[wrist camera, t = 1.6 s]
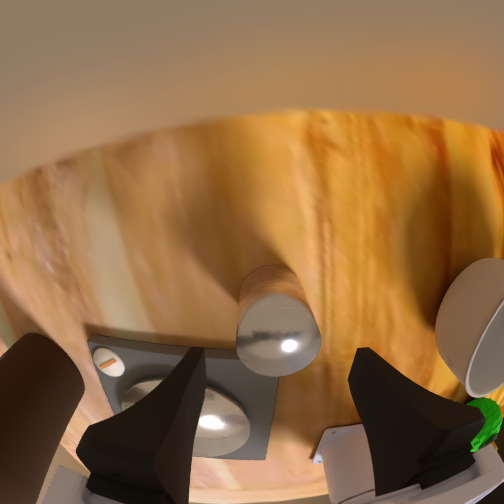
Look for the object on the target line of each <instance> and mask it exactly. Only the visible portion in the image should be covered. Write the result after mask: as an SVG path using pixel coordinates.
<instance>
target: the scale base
mask: <svg viewBox="0 0 504 504" xmlns="http://www.w3.org/2000/svg"><path fill="white" fill-rule="evenodd" d="M87 342H88V346H89V349H90V352H91V355H92V358H93V361H94V364H95V367H96V370H97V372H98V375H99V378H100V380H101V383H102V386H103V388H104V391H105V393H106V396H107V398H108V401H109V403H110V405H111V408H112V410H113V412H114V414H115V415H116V414H118V413H120V412H122V401H123V398H124V396H125V393H126V392H127V390H128V389H129V388H130V387H131V386H132V385H133V384H135V383H137V382H139V381H141V380H144V379H148V378H154V377H166V376H167V375H168V374H169V373H170V372H171V371H172V370H173V369H174V368H175V366H176V365H177V364H178V363H179V362H180V360H181V359H182V358H183V356H184V355H185V354H186V352H187V351H188V350H189V348H191V347H183V346H173V345H163V344H155V343H147V342H139V341H132V340H125V339H119V338H113V337H107V336H101V335H95V334H93V335H92V336H91V337H90V339H89V340H88V341H87ZM205 362H206V376H207V382H206V385H208V386H211V387H213V388H216V389H218V390H220V391H222V392H224V393H225V394H227V395H229V396H230V397H232V398H233V399H234V400H235V401H237V402H238V403H239V404H240V405H241V406H242V407H243V409H244V410H245V411H246V413H247V415H248V417H249V420H250V435H249V438H248V440H247V441H246V442H245V444H244V445H243V446H241V447H240V448H239V449H237V450H235V451H233V452H231V453H228V454H225V455H220V456H214V457H206V458H217V459H233V460H265V459H266V453H267V447H268V442H269V436H270V430H271V424H272V418H273V411H274V405H275V398H276V392H277V385H278V378H279V376H276V377H275V376H265V375H261V374H258V373H256V372H254V371H252V370H250V369H249V368H247V367H246V366H245V365H244V364H243V363H242V362H241V360H240V358H239V357H238V354H237V351H236V350H223V349H207V348H205Z"/></svg>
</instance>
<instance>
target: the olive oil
mask: <svg viewBox="0 0 504 504" xmlns="http://www.w3.org/2000/svg"><path fill="white" fill-rule="evenodd" d="M84 391H85V386H84V382H83V379H82V376H81V374H80V372H79V371H78V369H77V367H76V366H75V364H74V363H73V362H72V360H71V359H70V358H69V357H68V356H67V355H66V354H65V353H64V352H63V351H62V350H61V349H60V348H59V347H58V346H57V345H55V344H54V343H53V342H51V341H50V340H48V339H47V338H45V337H43V336H41V335H38V334H33V333H29V334H26V335H24V336H23V337H21V338H20V339H19V340H18V341H17V342H16V343H15V344H14V345H13V346H12V347H11V348H10V349H8V350H7V351H6V352H5V353H4V354H3V355H2V356H1V357H0V504H36V502H37V500H38V497H39V494H40V491H41V488H42V485H43V482H44V480H45V477H46V474H47V472H48V469H49V466H50V464H51V461H52V459H53V457H54V454H55V452H56V450H57V447H58V445H59V443H60V441H61V438H62V436H63V434H64V432H65V430H66V428H67V425H68V423H69V421H70V419H71V417H72V416H73V414H74V412H75V410H76V408H77V406H78V404H79V402H80V400H81V398H82V396H83V394H84Z"/></svg>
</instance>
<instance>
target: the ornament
mask: <svg viewBox="0 0 504 504" xmlns="http://www.w3.org/2000/svg"><path fill="white" fill-rule="evenodd" d="M466 405H470V406H474V407H478V408H479V409H480V410H481V412H482V413H483V415H484V416H485V418H486V423H485V425H484V427H483V428H482V430H481V431H480V432H479V434H478V435H477V436H476V437H475V438H474V440H473V441H472V442H471V445H472V446H473V449H472V450H471V452H472V451H474V452H475V451H477V450H480V449H482V448H483V447H485V446H487V445H489V444H491V443H492V445H493V446H494V448H495V450H496V451H497V449H498V448H497V446H496V445H495V443H494V440H495V439H496V438H497V433H498V432H499V430H500V426H501V423H502V411H500V407H499V405H497V403H496V401H493V400H492V399H490V398H489V399H488V398H484V397H482V398H479V399H474V400H473V401H470V402H468V403H467V404H466Z"/></svg>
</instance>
